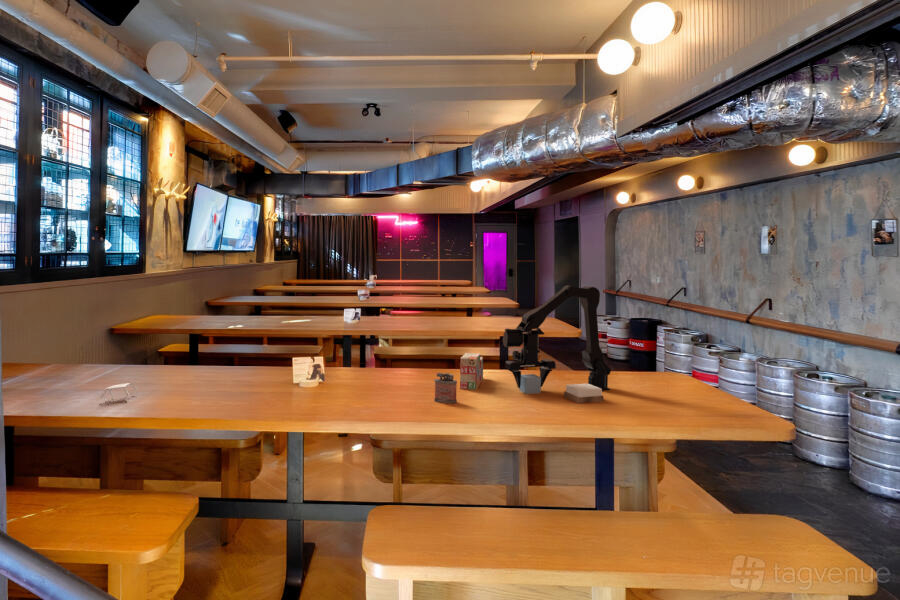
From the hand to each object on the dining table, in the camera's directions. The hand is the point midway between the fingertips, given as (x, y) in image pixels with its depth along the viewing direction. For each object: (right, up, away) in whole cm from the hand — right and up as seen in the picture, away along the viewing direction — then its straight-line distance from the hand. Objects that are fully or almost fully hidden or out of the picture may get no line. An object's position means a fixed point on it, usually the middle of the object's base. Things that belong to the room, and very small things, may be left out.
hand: (529, 387), depth 202 cm
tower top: (+18, -1, -11) cm, 21 cm away
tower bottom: (+18, -3, -10) cm, 21 cm away
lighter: (-32, -2, -16) cm, 36 cm away
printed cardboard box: (-21, -1, +13) cm, 25 cm away
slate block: (0, -2, 0) cm, 2 cm away
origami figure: (-143, -2, -17) cm, 144 cm away
